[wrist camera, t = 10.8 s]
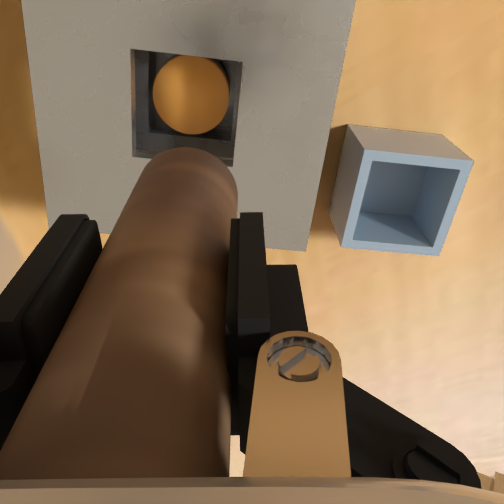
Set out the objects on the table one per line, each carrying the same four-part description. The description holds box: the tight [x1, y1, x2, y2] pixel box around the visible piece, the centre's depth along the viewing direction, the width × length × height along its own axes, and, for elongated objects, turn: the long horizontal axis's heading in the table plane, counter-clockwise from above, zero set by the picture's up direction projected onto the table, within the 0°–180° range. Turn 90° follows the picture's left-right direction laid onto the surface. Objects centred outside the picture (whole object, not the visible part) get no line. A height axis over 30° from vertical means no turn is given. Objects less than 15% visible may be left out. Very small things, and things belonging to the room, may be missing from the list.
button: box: [153, 54, 230, 134], centre depth 26 cm, size 4×4×2 cm
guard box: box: [21, 0, 356, 252], centre depth 26 cm, size 14×14×8 cm
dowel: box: [0, 147, 238, 480], centre depth 10 cm, size 3×3×12 cm
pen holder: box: [329, 124, 474, 256], centre depth 30 cm, size 6×6×5 cm
